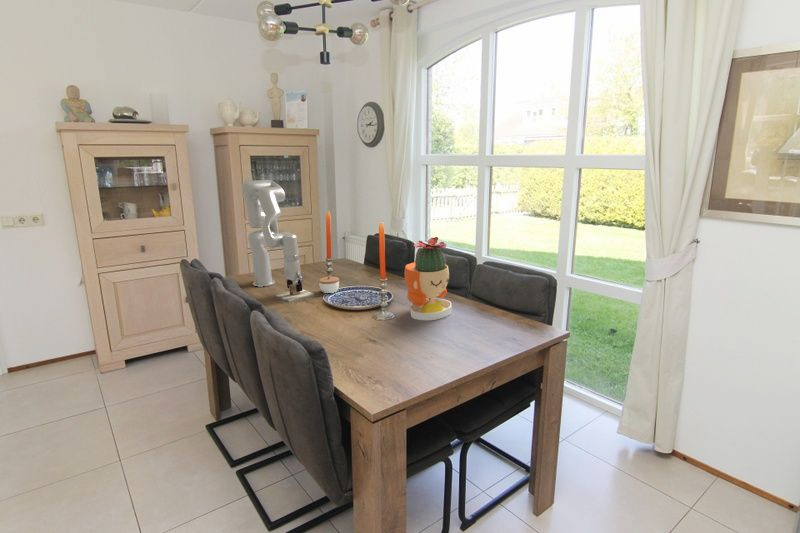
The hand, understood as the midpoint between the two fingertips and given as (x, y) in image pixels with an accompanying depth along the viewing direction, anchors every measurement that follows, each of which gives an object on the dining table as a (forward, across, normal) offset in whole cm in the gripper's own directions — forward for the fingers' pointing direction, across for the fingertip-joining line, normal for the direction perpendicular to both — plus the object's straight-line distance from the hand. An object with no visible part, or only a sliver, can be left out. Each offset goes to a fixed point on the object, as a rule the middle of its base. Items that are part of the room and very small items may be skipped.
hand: (294, 289), depth 242 cm
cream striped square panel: (+4, 0, 0) cm, 4 cm away
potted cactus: (+5, +68, +31) cm, 75 cm away
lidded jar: (+4, +9, +16) cm, 19 cm away
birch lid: (+3, 0, 0) cm, 3 cm away
